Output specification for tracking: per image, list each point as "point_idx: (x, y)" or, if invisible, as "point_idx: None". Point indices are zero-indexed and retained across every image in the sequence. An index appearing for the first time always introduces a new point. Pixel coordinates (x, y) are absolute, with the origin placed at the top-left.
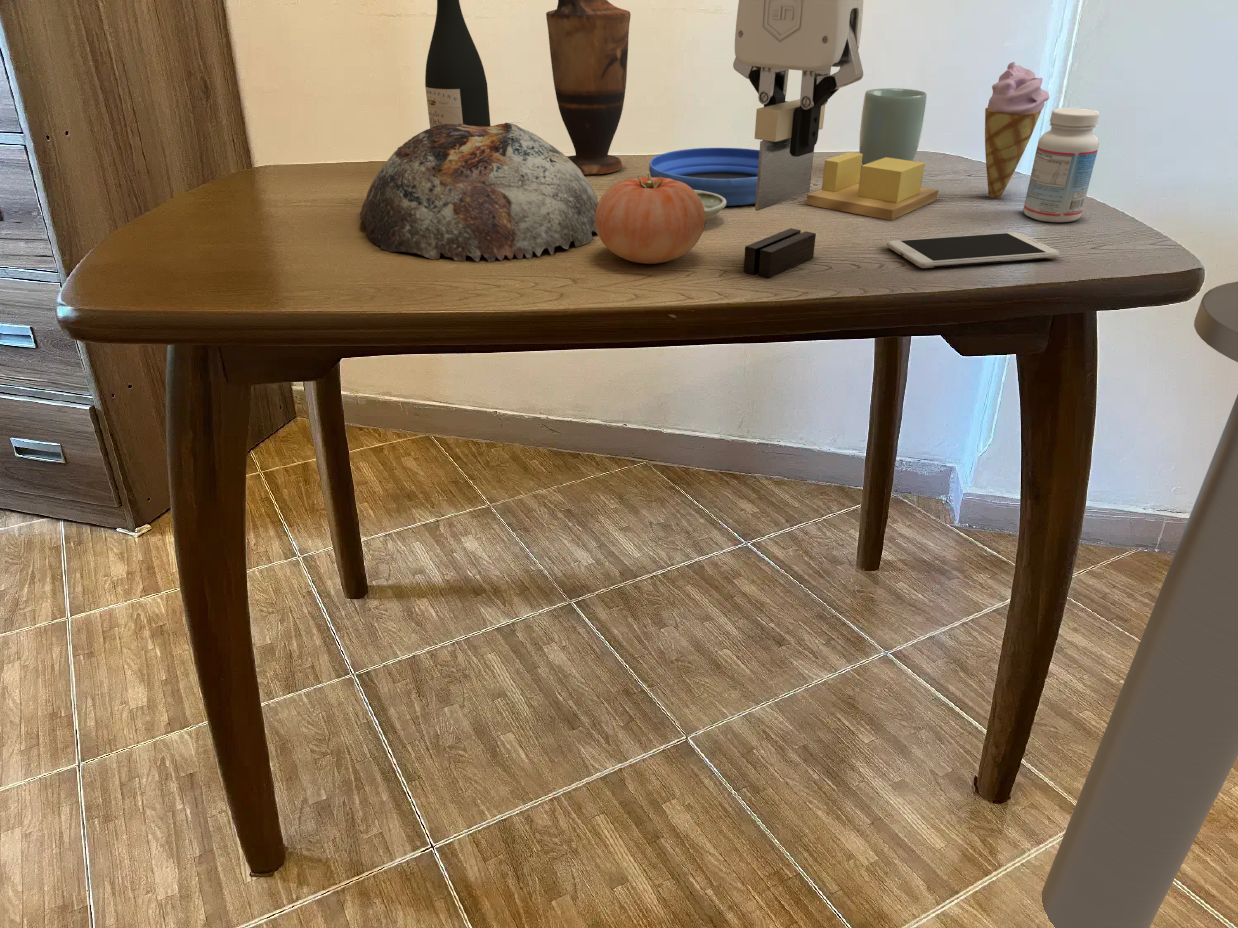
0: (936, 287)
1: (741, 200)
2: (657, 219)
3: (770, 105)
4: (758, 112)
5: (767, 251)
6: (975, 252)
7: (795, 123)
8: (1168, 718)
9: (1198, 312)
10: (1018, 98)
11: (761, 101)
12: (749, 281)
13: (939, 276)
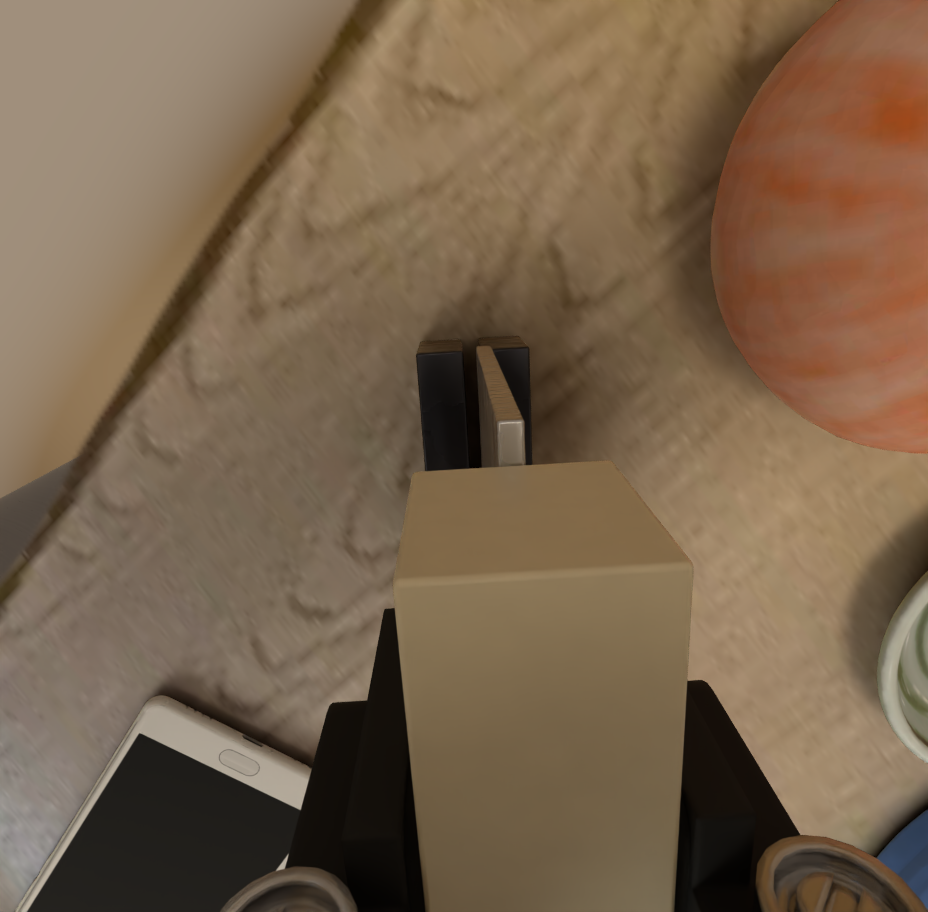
0: (46, 606)
1: (907, 844)
2: (850, 27)
3: (715, 843)
4: (649, 545)
5: (432, 355)
6: (112, 853)
7: (390, 741)
8: (38, 488)
9: None
10: None
11: (848, 866)
12: (450, 278)
13: (101, 683)
